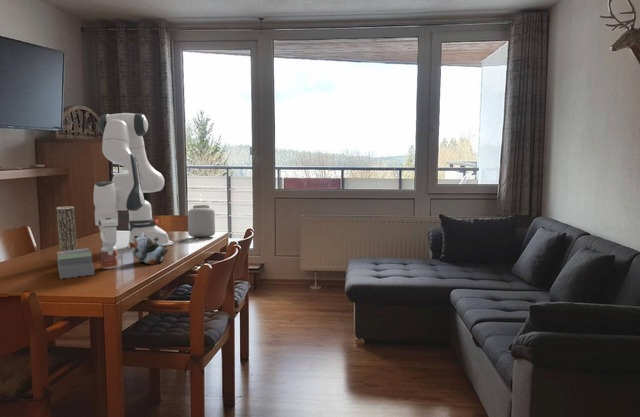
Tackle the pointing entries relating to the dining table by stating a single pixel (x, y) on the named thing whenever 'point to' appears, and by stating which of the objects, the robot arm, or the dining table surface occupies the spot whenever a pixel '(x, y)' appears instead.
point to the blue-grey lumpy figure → (147, 250)
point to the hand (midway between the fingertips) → (108, 252)
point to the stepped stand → (75, 263)
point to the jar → (201, 221)
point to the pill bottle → (109, 257)
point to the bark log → (66, 228)
